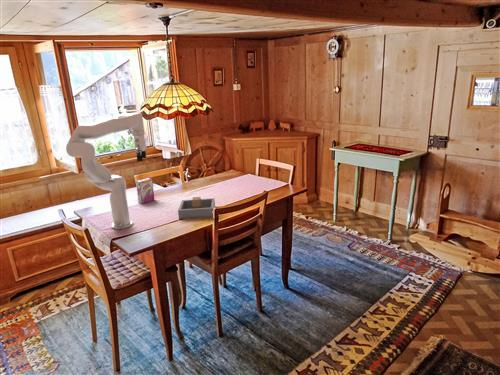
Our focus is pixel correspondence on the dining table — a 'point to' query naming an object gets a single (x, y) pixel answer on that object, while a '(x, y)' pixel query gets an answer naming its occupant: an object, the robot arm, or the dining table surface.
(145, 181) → the candy bar box
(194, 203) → the walnut block
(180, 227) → the dining table surface
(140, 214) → the dining table surface
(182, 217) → the bin
